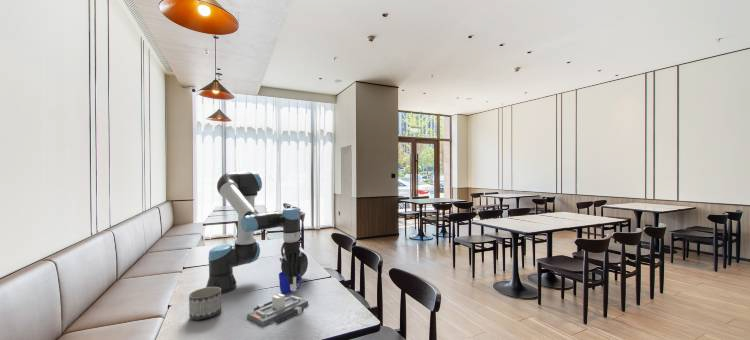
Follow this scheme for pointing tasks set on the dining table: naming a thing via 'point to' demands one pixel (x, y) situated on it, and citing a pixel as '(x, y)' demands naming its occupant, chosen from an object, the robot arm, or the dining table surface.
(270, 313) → the panel
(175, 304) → the dining table surface
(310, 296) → the dining table surface
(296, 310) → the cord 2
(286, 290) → the mug
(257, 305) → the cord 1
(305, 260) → the pitcher
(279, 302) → the toggle
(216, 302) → the planter
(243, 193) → the robot arm
